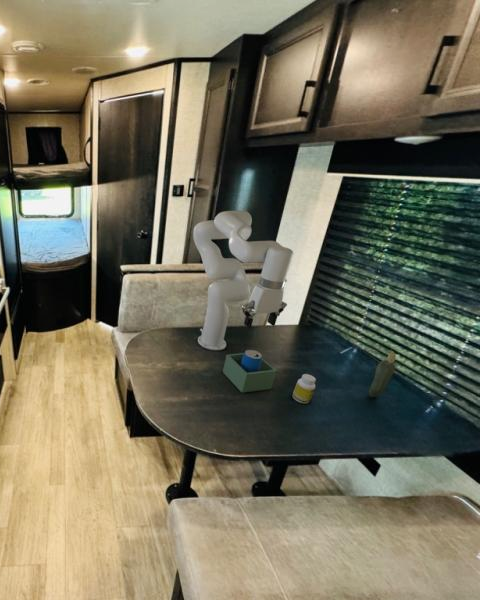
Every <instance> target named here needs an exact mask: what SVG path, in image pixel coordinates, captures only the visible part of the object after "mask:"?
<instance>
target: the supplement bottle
mask: <svg viewBox="0 0 480 600" xmlns="http://www.w3.org/2000/svg"><path fill="white" fill-rule="evenodd" d="M316 380H317V379H316V377H314V376H313V375H311V374H308V373H304V374H302V376H301V378H299V379H297V382H296V385H295V387H294V389H293V392H292V394H291V395H292V398H293V399H294V400H295V401H296V402H298V403H300V404H308V403H310V401H311V399H312V397H313V395H314V392H315V390H316V384H315V383H316Z"/></svg>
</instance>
